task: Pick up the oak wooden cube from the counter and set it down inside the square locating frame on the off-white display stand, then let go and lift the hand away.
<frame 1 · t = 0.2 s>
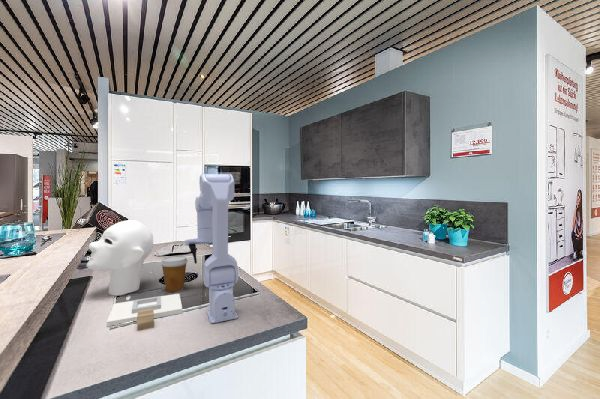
hand: (205, 261, 114), 10 cm above the worktop, tool pointing down, fingers open, 7 cm apart
display stand: (147, 310, 93), on the worktop
oak cube: (146, 326, 84), on the worktop
mannequin head: (123, 291, 111), on the worktop
disposable coffee cup: (175, 289, 113), on the worktop
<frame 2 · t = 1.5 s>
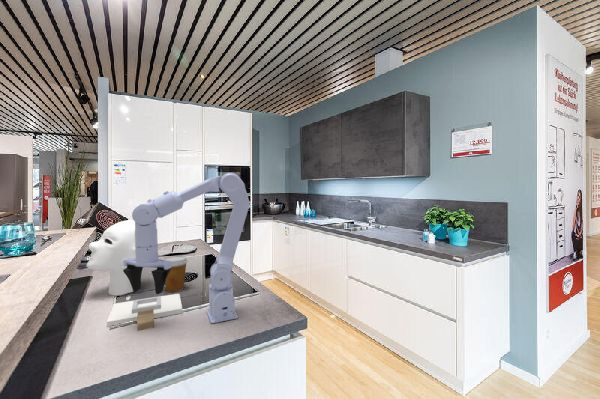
hand: (148, 291, 84), 9 cm above the worktop, tool pointing down, fingers open, 7 cm apart
nothing on the worktop moved.
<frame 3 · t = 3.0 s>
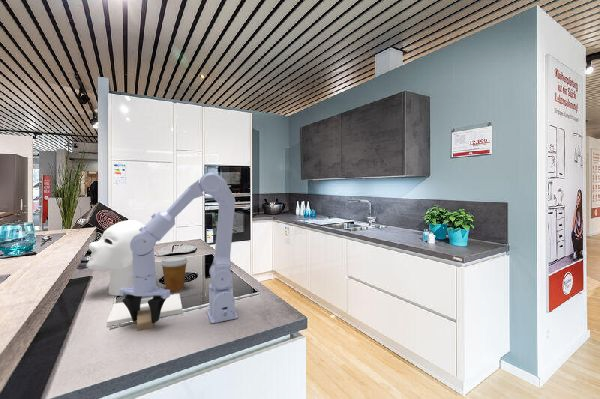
hand: (145, 320, 84), 1 cm above the worktop, tool pointing down, fingers closed on oak cube, 6 cm apart
oak cube: (146, 325, 84), on the worktop, touching gripper
everything else where it was.
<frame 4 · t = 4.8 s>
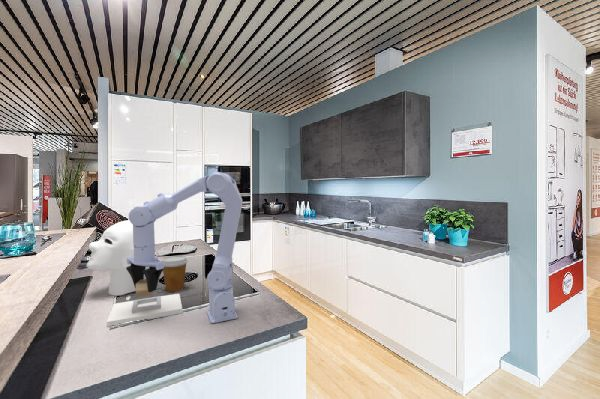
hand: (145, 289, 89), 8 cm above the worktop, tool pointing down, fingers closed on oak cube, 6 cm apart
oak cube: (145, 294, 89), point 7 cm above the worktop, touching gripper
everything else where it was.
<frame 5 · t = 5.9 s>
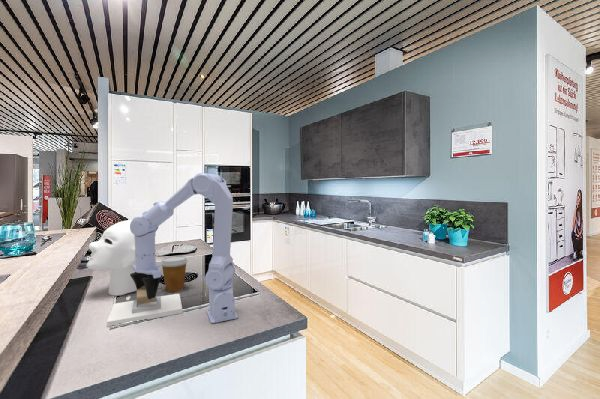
hand: (146, 295, 93), 5 cm above the worktop, tool pointing down, fingers closed on oak cube, 6 cm apart
oak cube: (146, 300, 93), point 3 cm above the worktop, touching gripper
everything else where it was.
when the fingers open (5 cm above the worktop, at t = 6.7 s): oak cube drops 2 cm, resting on display stand.
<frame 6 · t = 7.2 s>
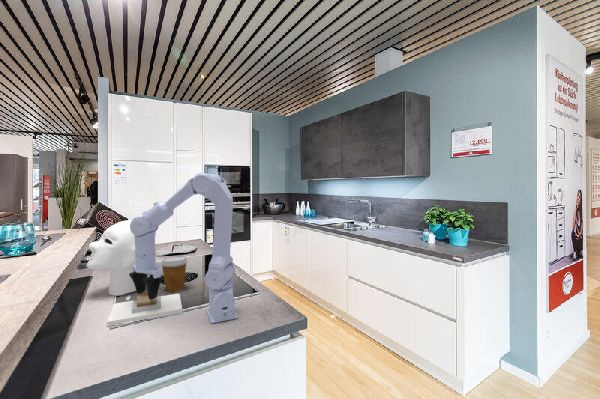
hand: (146, 295, 93), 5 cm above the worktop, tool pointing down, fingers open, 7 cm apart
oak cube: (147, 306, 93), point 1 cm above the worktop, touching display stand
everything else where it was.
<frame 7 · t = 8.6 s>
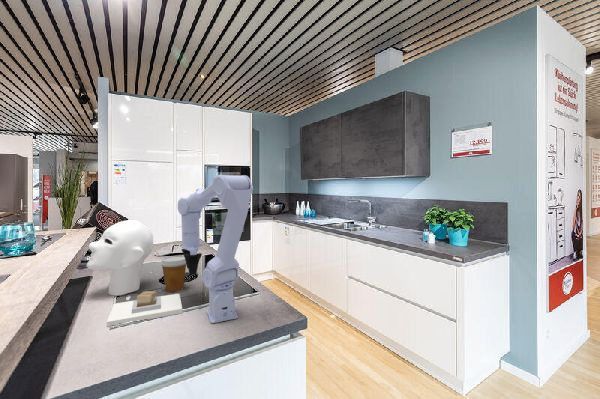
hand: (191, 271, 101), 10 cm above the worktop, tool pointing down, fingers open, 7 cm apart
nothing on the worktop moved.
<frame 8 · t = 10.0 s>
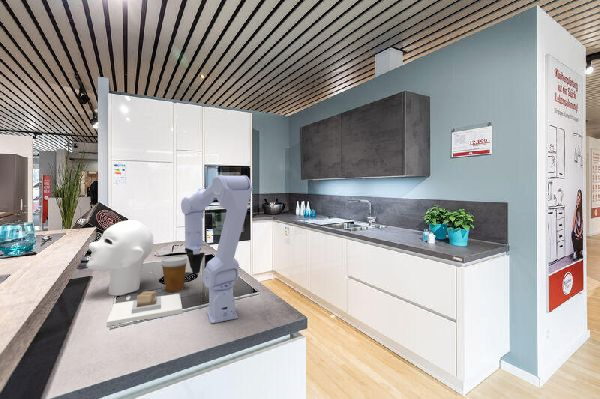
hand: (194, 270, 102), 10 cm above the worktop, tool pointing down, fingers open, 7 cm apart
nothing on the worktop moved.
at the end: oak cube 0.1 cm off-centre on the display stand, point 1.5 cm above the display stand's base; oak cube tilted 0°; the gripper is holding nothing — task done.
